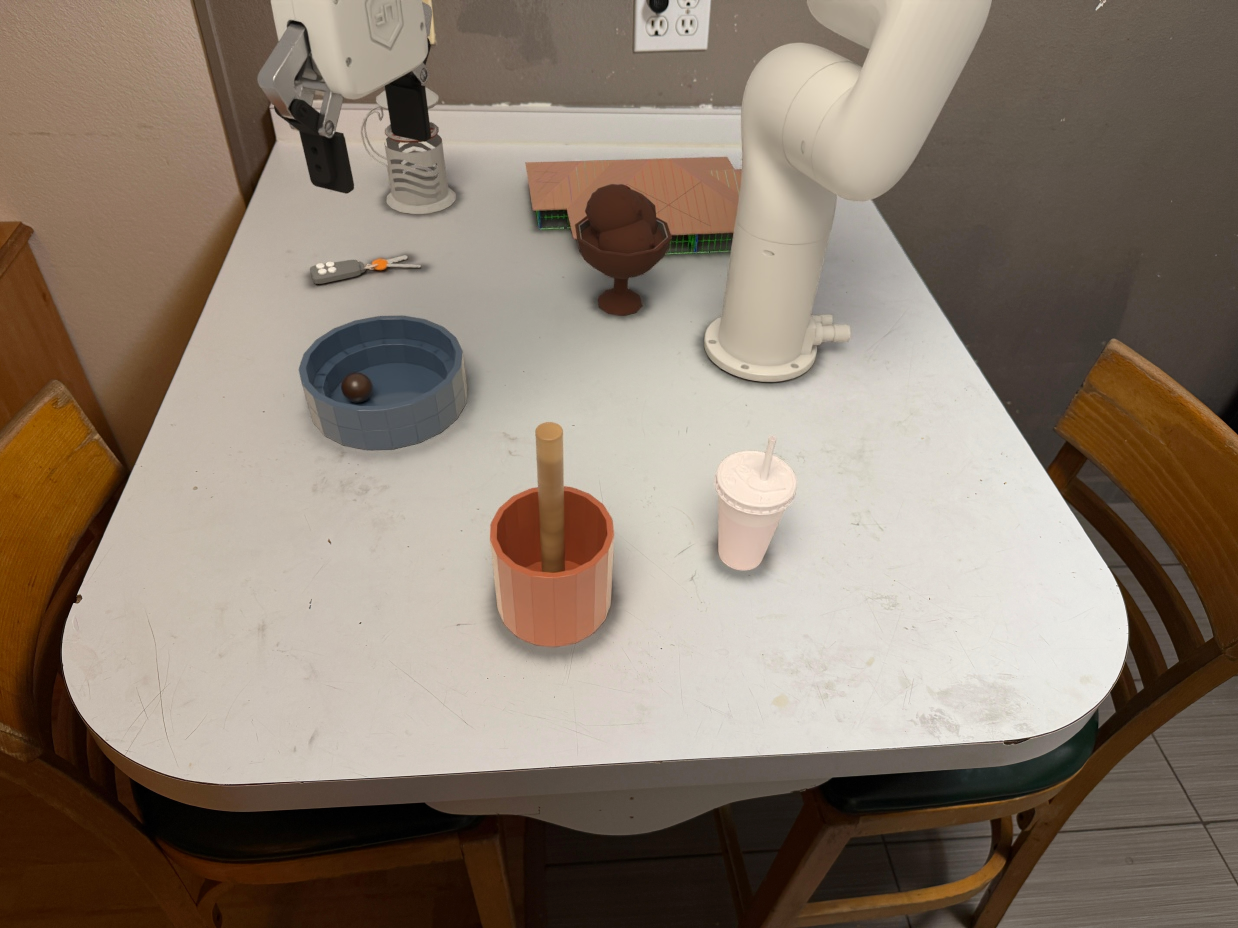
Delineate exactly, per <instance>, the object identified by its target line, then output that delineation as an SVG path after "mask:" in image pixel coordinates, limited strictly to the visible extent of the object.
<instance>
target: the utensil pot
mask: <svg viewBox="0 0 1238 928" xmlns="http://www.w3.org/2000/svg"><path fill="white" fill-rule="evenodd" d="M489 526H490V527H489V528H490V529H489V543H490V552H491V561H492V562H491V563H492V571H493V579H494V588H495V589H494V590H495V597H496V598H495V599H496V607H497V612H498V613H499V617H500V618H501V621H502V623H503V625H504V626H505V627H506V628H507V629H508V630H509V632H511V633H512V634H513V635H515V636H516V637H517V638H518V639H520V640H523V641H524V642H526V643H528V644H532V645H535V646H540V647H548V648H549V647H551V648H558V647H564V646H565V647H566V646H569V645H573V644H576V643H578V642H581V641H583V640H584V639H587V638H588V637H589V636H591V635H593V634H595V632H596V631H598V630H599V628H600V627H601V626H602V624H603V623H604V622H605V621H606V619H607V616H608V614H609V610H610V608H611V605H612V604H611V603H612V589H613V588H612V587H613V566H614V549H615V548H614V545H615V530H614V521H613V518H612V516H611V514H610V512H609V510H608V509H607V508H606V506H605V504H603V503H602V502H601V501H600V500H599V499H597V498H596V497H594V496H593V495H592V494H590V493H589V492H587V491H583V490H581V489H578V488H576V487H573V486H566V485H564V529H565V571H562V572H556V573H549V572H542V565H541V544H540V522H539V500H538V486H536V487H531V488H527V489H525V490H524V491H521V492H518V493H517V494H514V495H513V496H510V498H509V499H508V500H506V501H505V502H504V503H503V504H502V505H501V506H500V507H498V509H497V511H496V513H495V514H494V516H493V519H492V520H491V522H490V525H489Z"/></svg>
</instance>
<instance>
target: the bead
mask: <svg viewBox="0 0 1238 928" xmlns="http://www.w3.org/2000/svg"><path fill="white" fill-rule="evenodd" d="M341 390H342V393H343V395H344V396H345V398H346V399H348V400H349V401H351V402H355V403H360V402H363V401H365V400H367V399H368V398H369V397H370V396H371V394H372V391H373V386H372V382H371V380H370V379H369V378H368V377H367V376H366V375H364V374H362V373H351V374H349V375H347V376H346V377H345V378H344V380H343V381H342V385H341Z"/></svg>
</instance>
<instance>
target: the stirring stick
mask: <svg viewBox="0 0 1238 928" xmlns="http://www.w3.org/2000/svg"><path fill="white" fill-rule="evenodd" d="M534 433H535V456H536V457H535V458H536V474H537V475H536V477H537V479H536V480H537V487H538V500H539V522H540V544H541V565H542V572H549V573H556V572H562V571H565V529H564V486H565V476H564V475H565V473H564V472H565V469H564V467H565V466H564V462H565V461H564V429H563V428H562V426H561V425H560V424H558V423H556V422H553V421H546V422H543V423H540V424H539V425H538V426H537V427H536V428H535V431H534Z"/></svg>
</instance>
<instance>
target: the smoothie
mask: <svg viewBox="0 0 1238 928" xmlns="http://www.w3.org/2000/svg"><path fill="white" fill-rule="evenodd" d="M776 443H777V437H776V436H774V435H770V436H768V440H767V444H766V450H765V451H761V450H741V451H737V452H734V453H731V454H729V455H728V456H726V457H725V458H724V459H722V460H721V461H720V463H719V464H718V465H717V470H716V473H715V475H714V482H713V483H714V488H715V491H716V493H717V503H718V505H717V506H718V508H717V509H718V511H717V512H718V515H717V516H718V518H717V519H718V521H717V524H718V527H717V530H718V531H717V533H718V536H717V539H718V543H717V545H718V551H717V552H718V556H719V558H720V560H721V561H722V562H723V563H724V564H725V565H726V566H727V567H729V568H732V569H734V570H737V571H750V570H754V569H756V568H757V567H758V566H759V565H760V564H761V563H762V562H763V559H764V557H765V555H766V554H767V551H768V548H769V546H770V544H771V542H772V539H773V537H774V535H775V533H776V531H777V529H778V526H779V524H780V522H781V520H782V518H783V515H784V513H785V511H786V509H787V508H788V507H789V506H790V505H791V504H792V503H793V502H794V500H795V497H796V496H797V495H796V494H797V493H796V491H797V488H798V479H797V475H796V473H795V472H794V470H793V468H792V467H791V466H790V465H789V464H788V463H787V462H786V461H785V460H783V459H781V458H780V457H778V456H776V455H774V451H775V447H776Z"/></svg>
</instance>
